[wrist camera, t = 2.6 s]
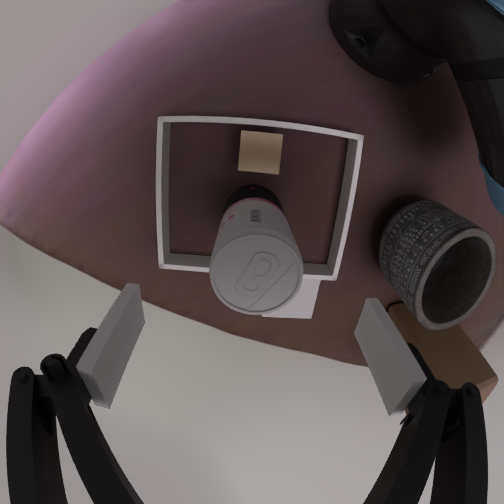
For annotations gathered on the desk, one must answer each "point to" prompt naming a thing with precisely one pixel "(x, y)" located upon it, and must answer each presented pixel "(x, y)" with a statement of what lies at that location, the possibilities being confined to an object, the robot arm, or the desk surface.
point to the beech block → (260, 152)
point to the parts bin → (164, 125)
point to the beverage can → (255, 254)
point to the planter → (437, 262)
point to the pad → (300, 302)
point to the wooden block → (446, 352)
